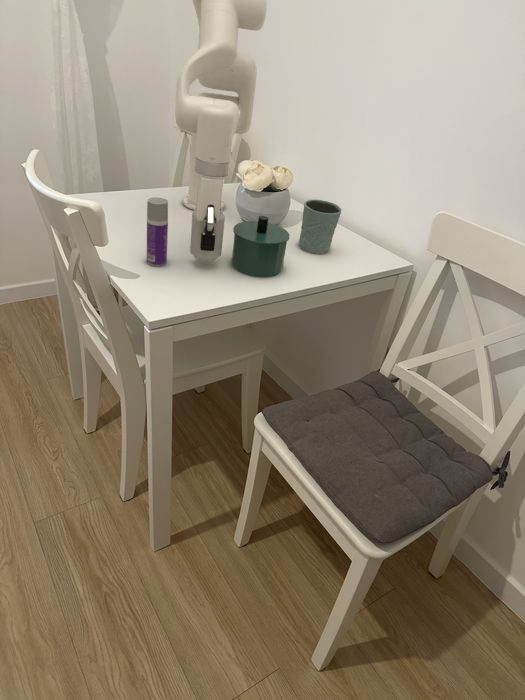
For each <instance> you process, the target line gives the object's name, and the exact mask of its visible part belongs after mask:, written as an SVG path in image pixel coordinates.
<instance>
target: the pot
mask: <svg viewBox="0 0 525 700" xmlns="http://www.w3.org/2000/svg"><path fill="white" fill-rule="evenodd" d="M233 234H234V233H233ZM287 244H288V241H287V242H285V243H283V244H279V245H260V244H255V243H251V242H248V241H245V240H243V239H241V238H239V237H237V236H236V235H235V234H234V235H233V246H232V255H231V266H232V267H233V269H234V270H236V271H237V272H239V273H241V274H243V275H245V276H248V277H249V276H250V277H255V278H272V277H275V276H278V275H279V274H280V273H282V271H283V266H284V262H285V255H286V250H287Z"/></svg>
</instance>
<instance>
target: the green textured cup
mask: <svg viewBox="0 0 525 700" xmlns="http://www.w3.org/2000/svg"><path fill="white" fill-rule="evenodd" d="M341 215H342V208H341V206H339V205H337V204H336V203H333V202H331V201H329V200H323V199H308V200H306V201H304V204H303V211H302V220H301V221H302V222H301V226H300V234H299V239H298V248H299V249H301V250H302V251H304V252H306V253H310V254H313V255H324V254H327V253H329V251H330V248H331V245H332V242H333V238H334V235H335V231H336V228H337V226H338V223H339V219H340V217H341Z"/></svg>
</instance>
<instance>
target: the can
mask: <svg viewBox="0 0 525 700" xmlns="http://www.w3.org/2000/svg"><path fill="white" fill-rule="evenodd" d="M195 208H196V209H195V210H193V211H192V213H191V215H192V216H191V228H190V229H191V230H190V247H189V249H190V250H189V252H190V254H191V255H192V256H193V258H195V259H197V260H200V261H201V262H203V261H204V262H213V261H216V260H217V259H218V258H220V257H221V256H222V250H223V240H224V229H225V219H226V215H225V214H224V213H223V209H224V208H223V209H222V208H221V207H220V215H219V221H218V222H217V223H215V234H216V236H215V247H214V251H204V250H201V249H200V246H201V233H203V221H200V222H198V221H197V206H196V207H195ZM207 211H208V207H207ZM205 220H208V217H205ZM213 221H214V218H213ZM206 226H207V223H206V224H205V227H206Z"/></svg>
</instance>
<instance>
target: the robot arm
mask: <svg viewBox="0 0 525 700" xmlns="http://www.w3.org/2000/svg"><path fill="white" fill-rule="evenodd" d="M192 3H193V7H194V11H195V14H196V18H197V22H198V45H197V46H198V47H197V51H196V52H194V54H192V55H191V56H190V57H189V59H187V61H186V62H185V64H183V67H182V68H181V71H180V72H179V75H178V78H177V82H176V91H175V107H174V108H175V109H174V118H175V124H176V125H177V127H178V129H179V130H180V131H182V132H184V133H188V134H189V133H190V135H191V136H190V138H191V139H190V162H189V178H188V179H189V180H188V195H187V196H185V197H184V198H183V201H182V204H183V205H184V207H186V208H188V209H190V210H193V211H194V210H195V209H196V208H195V207H196V206H197V221H198V222H200V221H203V233H201V246H200V249H201V250H204V251H214V247H215V236H216V234H215V223H217V222H218V221H219V215H220V207H221V208H222V209H224V206H225V203H224V201H223V200H222V196H223V187H224V180H225V179H228V178H229V177H230V168H231V158H232V157H231V155H232V147H233V138H234V137H233V136H234V135H235V134H238V135H244V134H247V133H248V132H249V130H250V128H251V125H252V120H253V112H254V104H255V103H254V102H255V95H256V94H255V93H256V85H257V76H258V75H257V71H258V69H257V62H256V59H255V57H253V56H252V55H251V54H249V53H247V52H246V53H245V52H240V51H238V44H239V43H238V39H239V30H241V29H242V30H248V31H255V32H258V31H260V30H261V29H262V28H263V26H264V24H265V21H266V17H267V9H268V8H267V6H268V3H267V0H192ZM196 80H198V83H199V84H200V85H201V86H202V87H204V88H207V89H212V90H219V91H225V92H232V93H233V92H234V93H236V94H237V96H234V95H228V94H227V95H226V94H220V93H214V92H198V93H196V94H194V95H190V88H191V86H192V84H193V83H194V82H195V81H196ZM207 207H208V211H207ZM205 217H208V220H205ZM213 218H214V221H213ZM206 223H207V226H206V227H205V224H206Z"/></svg>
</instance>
